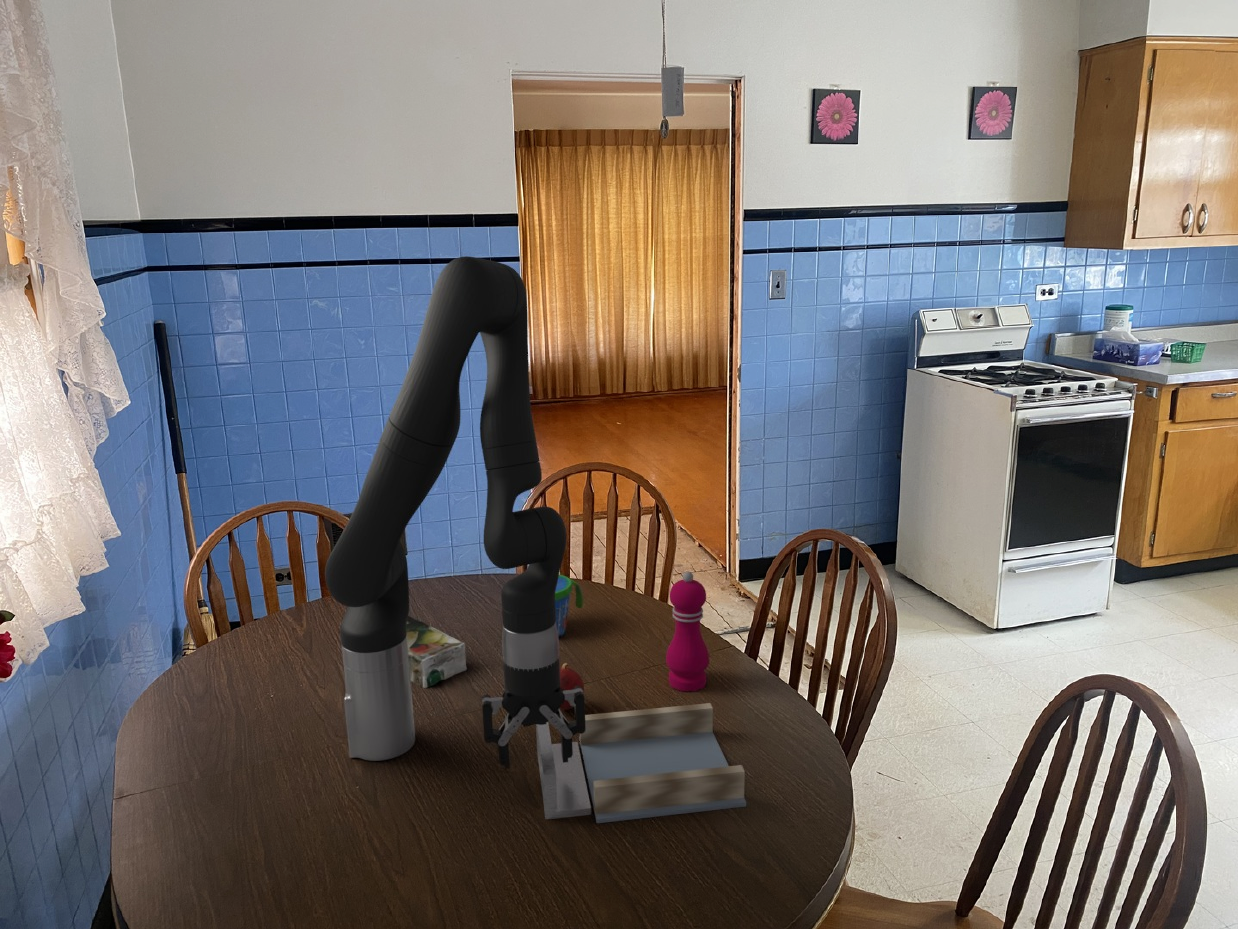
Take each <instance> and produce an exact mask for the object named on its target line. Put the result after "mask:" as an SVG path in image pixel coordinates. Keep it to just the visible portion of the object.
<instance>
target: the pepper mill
mask: <svg viewBox="0 0 1238 929" xmlns="http://www.w3.org/2000/svg"><path fill="white" fill-rule="evenodd" d="M669 601H670V603H671V605H672V606H673V607H672V618H673V619H675V621H674V622H675V631H674V633H673V634H674V635H673V638H672V640H671V642H670V644H669V646H668V648H667V651H666V658H665V663H666V666H667V667H668V668H669V673H668V683H669V686H670V687H671V688H672V689H674V688H675V689H674V690H676V689H677V690H676V691H679V690H680V692H684V691H687V693H688V692H689V691H692V692H697V691H700V690H702V689H704V687H705V686H706V684H707V672H706V671H705V670H706V669H708V667H709V665H710V655H709V650H708V647H707V646H706V642H705V641H704V639H703V637H702V632H701V620H702V619H703V618H704V614H703V612H704V609H703V606H704V605H705V603H706V601H707V591H706V589H705V587H704V586H703V584H702V583H701V582H700V581H698V580H695V579H694V574H693V573H692V572H691V571H685V572H684V573H683V574H682V579H679V580H678V581H676V582H675V583H674V584H673V585H672V586H671V588H670V591H669ZM699 689H700V690H699ZM696 690H697V691H696ZM689 693H690V692H689Z"/></svg>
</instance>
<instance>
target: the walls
mask: <svg viewBox="0 0 1238 929" xmlns="http://www.w3.org/2000/svg"><path fill="white" fill-rule="evenodd" d="M713 712H714V707H713V706H712V703H710V702H707V703H698V704H687V705H677V706H666V707H665V706H664V707H657V708H644V709H634V710H624V711H614V712H602V713H593V714H585V728H586V730H585V732H584V733H582V734H580V733H579V736H580V742H579V744H580V743H581V745H587V744H597V743H607V742H617V741H627V740H637V739H647V738H657V737H667V736H677V735H687V734H696V733H706V732H713V729H714V728H713V725H714V724H713V723H714V722H713V718H714V717H713V716H714V713H713ZM713 733H714V732H713ZM745 773H746V771H745V770H744V767H743V765H742V764H738V765H737V764H736V765H729V766H727V767H718V768H709V769H699V770H690V771H681V772H671V773H662V774H653V775H643V776H634V777H625V778H615V779H606V780H597V781H593V785H594V808H593V811H594V810H595V813H594V815H595V814H605V813H614V812H623V811H631V810H640V809H649V808H658V807H667V806H676V805H685V804H694V803H702V802H711V801H720V800H729V799H738V798H744V799H745V778H746V777H745V775H746V774H745Z"/></svg>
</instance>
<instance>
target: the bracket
mask: <svg viewBox="0 0 1238 929" xmlns="http://www.w3.org/2000/svg"><path fill="white" fill-rule="evenodd" d="M549 725H550V724H549V722H546V724H544V725H538V724H535V731H536V752H537V761H538V769H539V777H540V784H541V785H540V786H541V793H542V801H543V802H542V803H543V810H544V818H545V820H552V819H553V820H554V819H555V820H556V819H562V818H563V819H564V818H570V817H571V818H572V817H581V816H590V815H592V806H591V802H590V798H589V797H590V795H589V792H588V786H587V782H586V777H585V772H584V768H583V766H584V765H583V763H582V761H583V760H582V758H581V756H582V755H581V752H580V747H579V742H578V741H572V749H573V755H572V757H571V758H568V762H565V763H563V760H562V751H561V742H559V743H552V739H551V738H552V737H551V733H550V726H549Z"/></svg>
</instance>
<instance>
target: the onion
mask: <svg viewBox="0 0 1238 929" xmlns="http://www.w3.org/2000/svg"><path fill="white" fill-rule="evenodd" d="M560 685H561V688H562V689H563V691H565V690H574V688H575V687H576V686H581V687H582V690H583V694H584V692H585V685H584V682H583V679H582V676H581V675H580V674H579V673H578V672H577V671H575V670H574V669H571V668H570V663H568V662H564V663H563V664H562V666H560ZM584 695H585V694H584ZM572 708H573V707H572V706H571V705H570V704H569V701H567V700H564V702H563V704H562V705H561V707H560V708H559V709H561V710H564V711H570V710H571V709H572Z"/></svg>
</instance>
